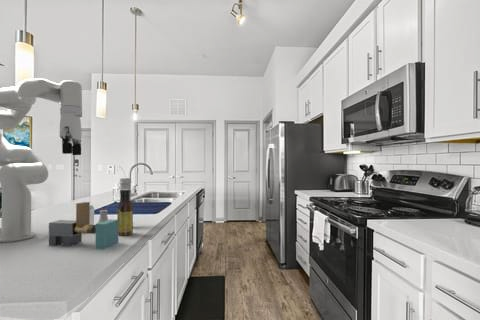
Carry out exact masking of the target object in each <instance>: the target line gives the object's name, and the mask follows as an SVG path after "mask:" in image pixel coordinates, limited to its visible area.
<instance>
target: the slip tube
mask: <svg viewBox="0 0 480 320" xmlns="http://www.w3.org/2000/svg"><path fill="white" fill-rule="evenodd" d="M90 205H91V204H90V201H82V202H77V203H76V206H75V209H76V212H75V213H76V214H75V221H76V224H73V233H82V234H91V235H92V234H94V235H95V234H96V224H94V225H89V219H90Z"/></svg>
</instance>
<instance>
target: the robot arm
mask: <svg viewBox="0 0 480 320" xmlns="http://www.w3.org/2000/svg"><path fill="white" fill-rule="evenodd" d="M82 87H83V86H82V84H81V83H79V82H78V81H76V80H75V81H74V80H62V81H60V83H56V82H53V81H50V80H48V79H46V78H41V77H38V78H37V77H35V78H34V77H33V78H27V79H24V80H21V81H20V82H19V83H18V85H16V86H15V85H14V86H9V87H8V86H7V87H2V88H1V87H0V108H2V109H5V110H0V130H5V131H10V130H11V131H12V130H15V128H17V127H18V126H19V124H20V123H21V122H22V121H23V119H25V117H26V116H27V114H28V113H29V112H30V111H31V109H32V107H33V105H35V103H36V101H37V98H39V99H44V100H48V101H51V102H55V103H59V105H60V106H59V108H60V109H59V110H60V111H59V115H60V119H59V138H60V139H61V148H62V150H61V151H62V155H67V154H69V155H71V154H72V156H81V155H82V134H83V133H82V122H81V121H82V120H81V118H82V117H83V93H82V92H83V88H82ZM6 110H7V111H6ZM0 167H1V168H0V187H1V224H0V225H1V227H0V243H9V242H10V243H12V242H17V241H18V242H19V241H25V240H28V239H31V238H34V237H35V236H36V232H34V231H32V193H31V190H30V189H29V188H28V186H27V185H39V184H42V183H44V182H46V181H47V180H48V178H49V170H48V168H47V166H46V165H45V163H44V162H43V160H42V159H41V158H40V157H39V155H37V153H36V152H35V151H34V150H33V149H32V148H30V147H28V146H25V145H15V144H11V143H10V142H9V141H8V140H7V139H6V137H5V136H4V135H3V134H1V133H0Z"/></svg>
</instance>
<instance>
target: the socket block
mask: <svg viewBox="0 0 480 320" xmlns="http://www.w3.org/2000/svg"><path fill="white" fill-rule="evenodd" d="M118 224H119V220H117V219H108V220H107V221H103V222H100V223H98V222H97V223H95V225H96V233H95V241H94V242H95V244H94V245H95V246H94V247H95V249H96V250H106V249H108V248H111V247H112V246H114V245H117V244H119V235H118Z"/></svg>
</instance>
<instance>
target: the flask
mask: <svg viewBox="0 0 480 320" xmlns="http://www.w3.org/2000/svg"><path fill="white" fill-rule="evenodd" d="M98 212H99V219H98V221H97V223H100V222H103V221H107V220H109V218H108V212H109V210H107V209H101V210H99V211H98Z"/></svg>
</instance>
